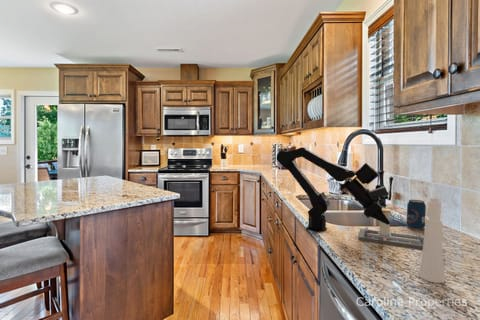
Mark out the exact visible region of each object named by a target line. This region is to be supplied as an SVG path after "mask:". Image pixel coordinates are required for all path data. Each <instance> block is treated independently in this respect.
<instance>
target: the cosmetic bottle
mask: <svg viewBox="0 0 480 320" xmlns="http://www.w3.org/2000/svg"><path fill="white" fill-rule="evenodd" d="M427 205H428V206H427V218H426V217H425V227H424V233H423V234H424V235H423V237H424V242H423V249H422V252H421V260H420V261H421V262H420V265H419V270H418V274H417V275H418V277H419V278H421V279H422V280H424V281H426V282H430V283H433V282H434V284H443V283H445V282H446V277H445V269H444V254H443V253H444V251H443V250H444V248H443V247H444V246H443V243H444V242H443V237H444V236H443V220H442V219H441V216H442V215H441V211H442V210H441V209H442V202H441V199H440V198H439V197H434V196H433V197H431V196H430V197H429V201H428V203H427Z"/></svg>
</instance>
